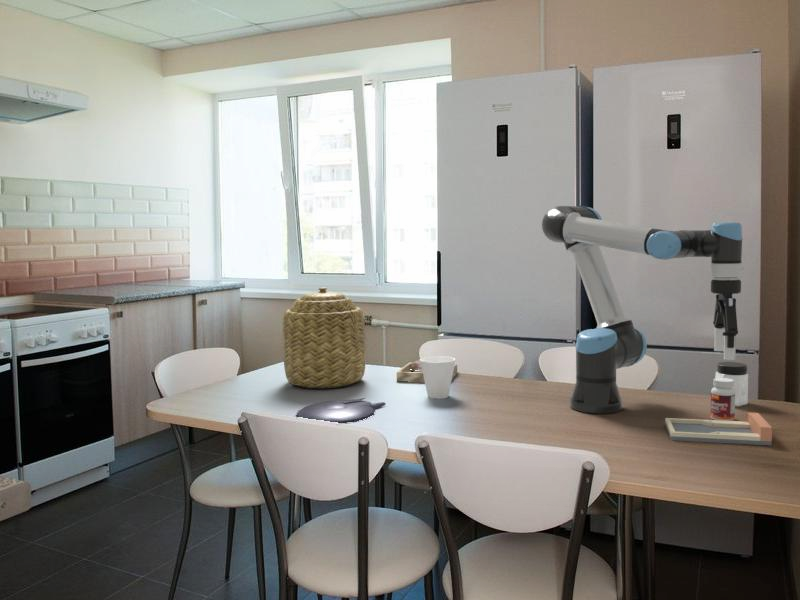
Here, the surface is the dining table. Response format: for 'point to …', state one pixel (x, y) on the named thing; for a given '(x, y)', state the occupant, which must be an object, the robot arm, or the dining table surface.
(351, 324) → the basket
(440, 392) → the cup
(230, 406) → the dining table surface
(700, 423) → the keyhole board
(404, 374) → the birch tray rim
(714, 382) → the pill bottle
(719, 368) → the jar
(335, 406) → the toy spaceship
